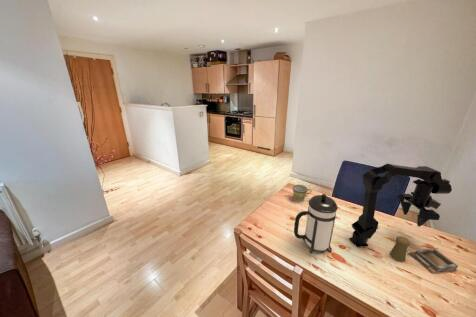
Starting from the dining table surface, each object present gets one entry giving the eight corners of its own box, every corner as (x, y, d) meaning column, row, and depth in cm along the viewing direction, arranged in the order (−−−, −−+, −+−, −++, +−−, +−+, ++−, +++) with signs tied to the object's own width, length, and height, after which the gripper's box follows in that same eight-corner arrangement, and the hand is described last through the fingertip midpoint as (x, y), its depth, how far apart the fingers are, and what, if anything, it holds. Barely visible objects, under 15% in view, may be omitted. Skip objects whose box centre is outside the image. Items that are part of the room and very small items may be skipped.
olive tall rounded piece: (408, 263, 92) (415, 244, 88) (393, 261, 93) (399, 242, 89) (401, 252, 97) (407, 234, 93) (387, 251, 98) (392, 233, 94)
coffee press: (307, 229, 113) (314, 183, 103) (336, 244, 103) (347, 194, 92) (291, 246, 102) (296, 195, 92) (322, 265, 91) (332, 209, 81)
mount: (431, 273, 86) (433, 268, 85) (408, 253, 97) (410, 249, 96) (455, 270, 88) (458, 265, 87) (430, 251, 98) (432, 246, 97)
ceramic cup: (292, 203, 139) (293, 190, 136) (290, 195, 148) (292, 184, 145) (311, 204, 137) (313, 192, 133) (309, 197, 146) (310, 185, 143)
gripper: (459, 204, 84) (445, 234, 90) (424, 184, 102) (414, 210, 107) (431, 203, 85) (419, 232, 91) (401, 183, 103) (393, 209, 108)
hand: (411, 220), depth 99 cm, fingers open, 9 cm apart
